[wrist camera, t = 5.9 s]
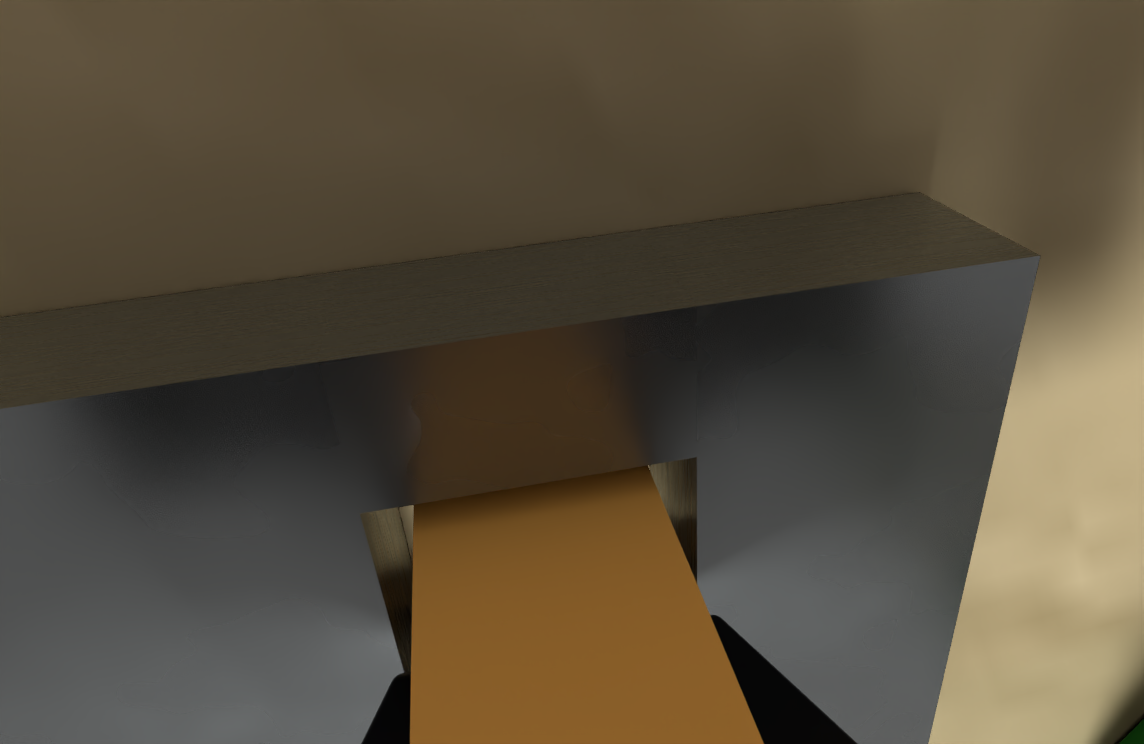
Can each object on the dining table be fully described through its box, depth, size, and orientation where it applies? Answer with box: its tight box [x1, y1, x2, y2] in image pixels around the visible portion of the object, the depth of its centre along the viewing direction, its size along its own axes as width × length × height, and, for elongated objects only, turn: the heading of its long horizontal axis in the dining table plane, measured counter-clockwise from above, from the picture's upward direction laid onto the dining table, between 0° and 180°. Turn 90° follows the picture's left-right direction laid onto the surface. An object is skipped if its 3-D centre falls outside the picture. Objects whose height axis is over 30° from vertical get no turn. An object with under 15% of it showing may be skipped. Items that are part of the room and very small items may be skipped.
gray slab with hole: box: [0, 192, 1040, 744], centre depth 12 cm, size 14×12×2 cm
